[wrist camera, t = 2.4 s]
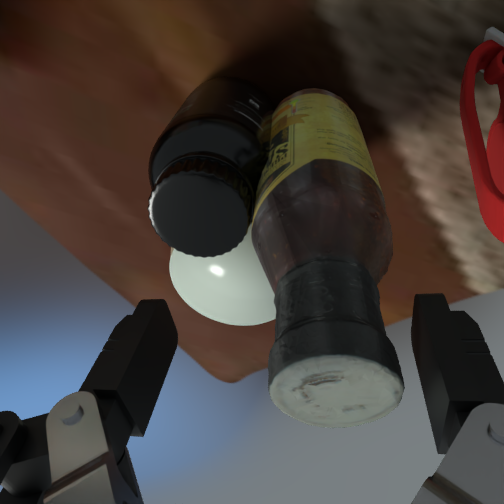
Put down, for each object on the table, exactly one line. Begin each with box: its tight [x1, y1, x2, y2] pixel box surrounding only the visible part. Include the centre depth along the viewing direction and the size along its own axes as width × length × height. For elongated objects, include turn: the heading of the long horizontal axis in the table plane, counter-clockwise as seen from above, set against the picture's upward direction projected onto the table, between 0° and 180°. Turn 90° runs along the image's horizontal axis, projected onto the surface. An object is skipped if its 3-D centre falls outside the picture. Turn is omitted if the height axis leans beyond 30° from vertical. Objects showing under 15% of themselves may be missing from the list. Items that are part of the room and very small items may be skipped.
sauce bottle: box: [251, 88, 405, 428], centre depth 19 cm, size 6×6×20 cm
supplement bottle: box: [148, 77, 275, 258], centre depth 23 cm, size 7×7×12 cm
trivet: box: [170, 224, 276, 326], centre depth 34 cm, size 12×12×2 cm
